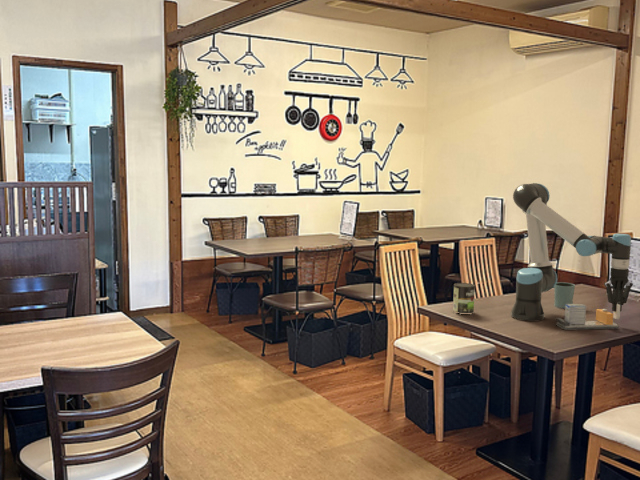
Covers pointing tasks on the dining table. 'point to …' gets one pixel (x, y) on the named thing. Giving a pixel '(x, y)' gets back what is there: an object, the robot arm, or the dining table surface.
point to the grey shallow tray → (584, 325)
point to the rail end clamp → (604, 316)
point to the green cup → (563, 294)
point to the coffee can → (464, 297)
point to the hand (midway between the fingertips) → (616, 318)
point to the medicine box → (575, 313)
